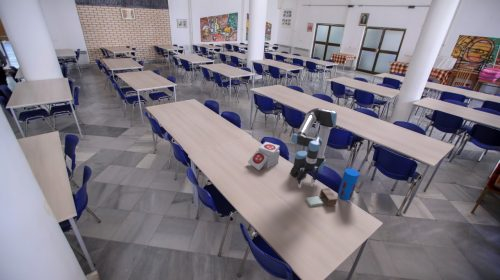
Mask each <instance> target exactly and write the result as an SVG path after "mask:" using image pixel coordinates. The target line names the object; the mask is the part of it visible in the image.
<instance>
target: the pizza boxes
mask: <svg viewBox="0 0 500 280" xmlns="http://www.w3.org/2000/svg"><path fill="white" fill-rule="evenodd" d="M280 152H281V151H280V145H279V144H276V143H275V144H274V143H272V142H268V141H265V142H263V144H261V146H260V147H259V148H258V149H256V151H255V152H254V153H253V155H252V156H251V157H250V158H249V160H247V163H248V164H249V165H251V166H252V167H253V168H255V169H256V170H257V171H260V170H261V169H262V168H263V167H265V168H267V169H269V168H271V167H273V166H275V165H276V164H279V157H280Z"/></svg>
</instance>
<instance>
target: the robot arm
mask: <svg viewBox="0 0 500 280" xmlns="http://www.w3.org/2000/svg"><path fill="white" fill-rule="evenodd" d="M337 117H338V113H337V112H336V111H334V110H330V109H327V108H326V109H324V108H320V107H315V108H313V109H311V110H309V111H307V112H306V114H305V116H304V120H303V122H302V124H301V125H300V127H299V129H298V131H297V132H296V133H292V135H291V140H290V141H291V143H293V144H296V145H299V146H302V147H306V148H307V151H306V150H298V151H296V153H295V156H294V162H293V166H292V167H291V169H290V173H289V174H290V176H292V177H293V178H295V179H296V180H297V183H298V184H297V186H298V188H299V189H301V188H302V183H303V181H302V180H303V179H305V178H307V176H308V175H307V174H309V173H310V174H311V175H312V177H311V180H310V186H311V187H313V186H314V183H315V182H316V181H317V179H319V172H322V171H323V169H324V166H325V164H326V161H327V160H326V159H325V158H326V157H325V152H326V147H327V144H328V140H329V137H330V133H331V129H333V128H334V126H336V125H337ZM315 122H317V123H319V124H318V125H319V126H320V127H319V131H318V136H315V137H312V136H308V134H309V133H310V131H311V129H312V127H313V124H314V123H315Z"/></svg>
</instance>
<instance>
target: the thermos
mask: <svg viewBox="0 0 500 280" xmlns="http://www.w3.org/2000/svg"><path fill="white" fill-rule="evenodd" d="M359 176H360V172H359V171H358V170H356V169H354V168H351V167H349V168H348V167H347V168H345V170H344V172H343V175H342V178H341V183H340V185H339V188H338V191H337V192H338V193H337V198H339V199H341V200H342V201H347V200H348V202H349V201H351V199H352V196H353V195H354V191H355V188H356V186H357V183H358V181H359Z"/></svg>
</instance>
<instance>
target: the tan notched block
mask: <svg viewBox="0 0 500 280" xmlns="http://www.w3.org/2000/svg"><path fill="white" fill-rule="evenodd" d="M319 196H322V197H326V198H327V202H326V203H327V204H326V206H327V207H328V206H329V207H335V205H336V206H337V202H338V196H336V195H335V194H334V192H333V191H332V190H331V189H330V188H329V187H326V188H325V187H324V188H321V190H320V193H319Z"/></svg>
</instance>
